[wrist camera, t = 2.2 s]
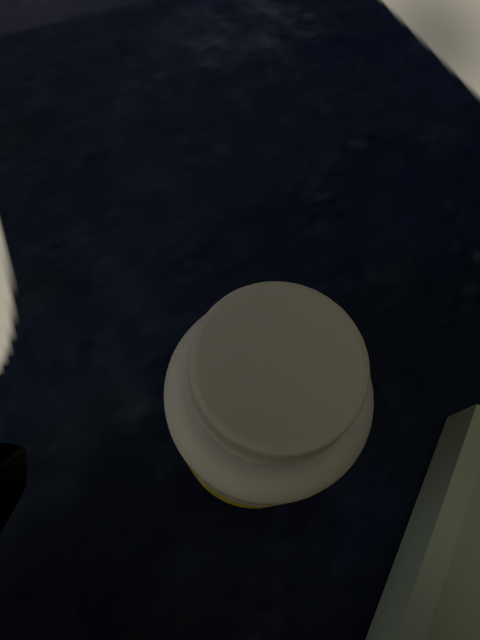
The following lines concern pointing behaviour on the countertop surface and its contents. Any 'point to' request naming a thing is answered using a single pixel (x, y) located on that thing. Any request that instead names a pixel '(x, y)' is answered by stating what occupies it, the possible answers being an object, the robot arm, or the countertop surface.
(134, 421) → the countertop surface
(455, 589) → the tray
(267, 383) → the supplement bottle
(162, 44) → the countertop surface
